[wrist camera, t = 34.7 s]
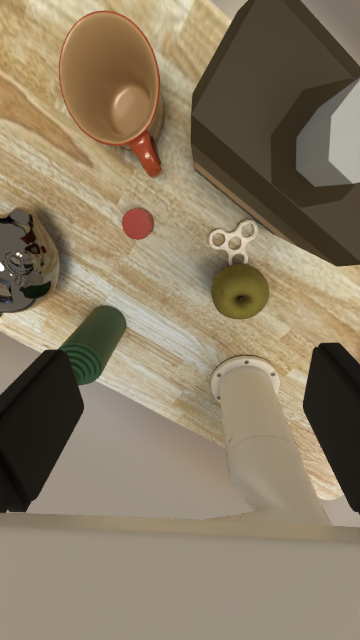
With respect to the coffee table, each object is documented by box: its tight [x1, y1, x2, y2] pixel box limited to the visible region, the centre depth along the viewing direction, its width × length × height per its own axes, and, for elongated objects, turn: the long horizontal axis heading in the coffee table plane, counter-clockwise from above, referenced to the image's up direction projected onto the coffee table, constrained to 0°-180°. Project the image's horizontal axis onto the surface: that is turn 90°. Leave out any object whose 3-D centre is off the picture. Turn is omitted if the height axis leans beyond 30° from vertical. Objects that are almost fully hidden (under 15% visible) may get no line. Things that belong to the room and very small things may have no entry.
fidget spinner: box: [209, 220, 258, 266], centre depth 36 cm, size 7×6×1 cm
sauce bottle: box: [58, 306, 126, 386], centre depth 36 cm, size 6×6×18 cm
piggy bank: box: [0, 207, 62, 317], centre depth 34 cm, size 11×15×12 cm
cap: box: [122, 208, 154, 240], centre depth 35 cm, size 4×4×3 cm
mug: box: [59, 11, 164, 178], centre depth 27 cm, size 12×9×10 cm
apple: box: [211, 264, 269, 319], centre depth 36 cm, size 8×8×7 cm
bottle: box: [191, 0, 360, 267], centre depth 21 cm, size 8×16×25 cm, turn 55°
